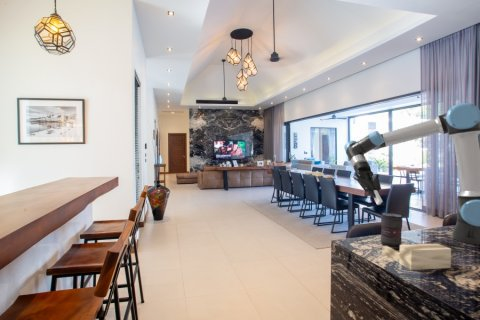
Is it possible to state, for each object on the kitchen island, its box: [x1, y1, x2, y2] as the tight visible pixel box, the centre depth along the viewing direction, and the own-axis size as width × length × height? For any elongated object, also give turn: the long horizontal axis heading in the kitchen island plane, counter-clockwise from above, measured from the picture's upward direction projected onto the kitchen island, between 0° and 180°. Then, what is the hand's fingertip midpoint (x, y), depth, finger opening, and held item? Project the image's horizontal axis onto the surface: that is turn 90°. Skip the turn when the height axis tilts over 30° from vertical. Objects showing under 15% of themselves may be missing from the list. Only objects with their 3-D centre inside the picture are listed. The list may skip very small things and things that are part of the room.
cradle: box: [381, 243, 452, 271], centre depth 110 cm, size 17×16×7 cm
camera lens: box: [380, 212, 403, 252], centre depth 123 cm, size 8×8×15 cm
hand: (379, 203), depth 131 cm, fingers closed
